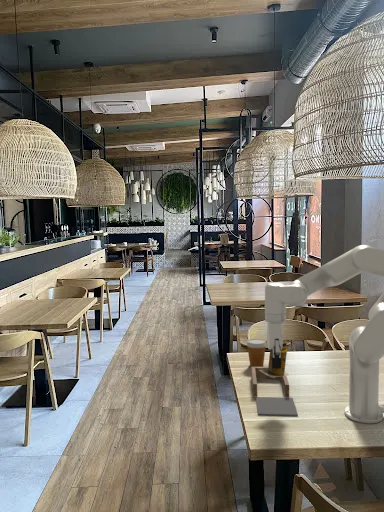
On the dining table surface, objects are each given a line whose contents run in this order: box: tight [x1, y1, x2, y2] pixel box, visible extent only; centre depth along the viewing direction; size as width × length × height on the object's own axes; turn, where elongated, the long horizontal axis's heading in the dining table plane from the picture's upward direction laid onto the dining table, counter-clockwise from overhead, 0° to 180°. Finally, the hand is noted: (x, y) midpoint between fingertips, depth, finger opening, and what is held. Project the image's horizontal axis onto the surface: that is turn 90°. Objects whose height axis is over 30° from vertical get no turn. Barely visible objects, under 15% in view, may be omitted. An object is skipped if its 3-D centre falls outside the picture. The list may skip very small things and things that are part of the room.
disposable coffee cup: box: [246, 338, 268, 368], centre depth 198 cm, size 10×10×12 cm
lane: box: [250, 366, 290, 398], centre depth 173 cm, size 14×20×5 cm
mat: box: [255, 396, 299, 417], centre depth 155 cm, size 14×14×1 cm
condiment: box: [259, 340, 290, 378], centre depth 153 cm, size 7×8×12 cm
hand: (275, 364), depth 153 cm, fingers closed on condiment, 6 cm apart
